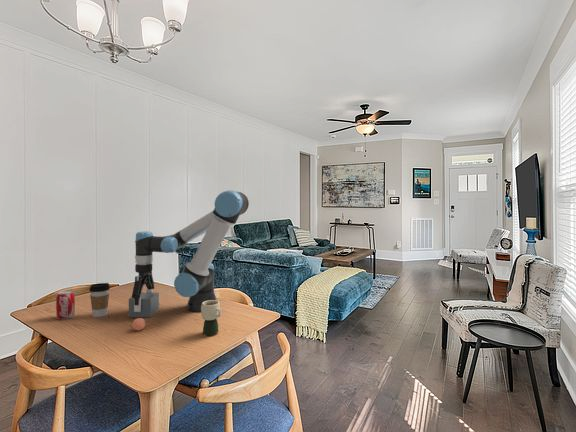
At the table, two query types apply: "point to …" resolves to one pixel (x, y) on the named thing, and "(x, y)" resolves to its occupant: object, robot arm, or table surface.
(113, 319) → the table surface
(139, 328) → the ball
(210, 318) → the character mug
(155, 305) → the grey cubic block
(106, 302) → the coffee cup
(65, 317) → the soda can
